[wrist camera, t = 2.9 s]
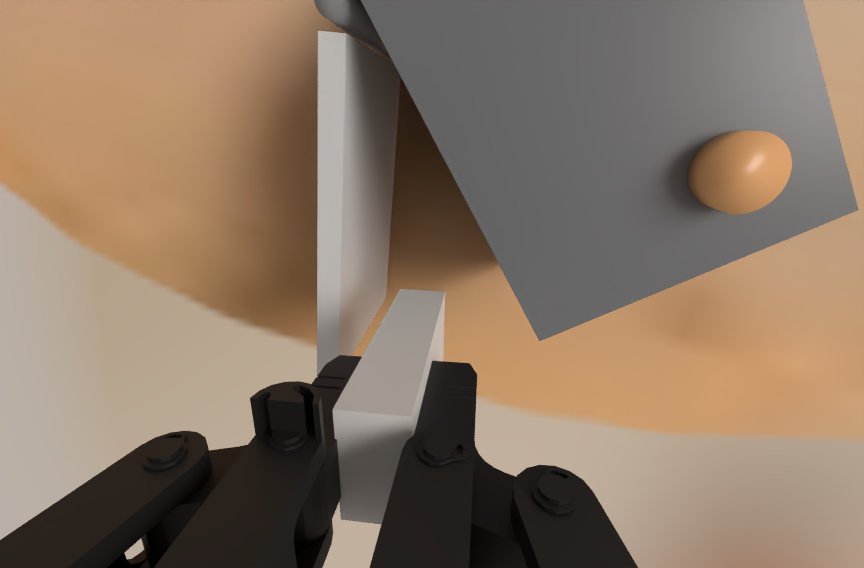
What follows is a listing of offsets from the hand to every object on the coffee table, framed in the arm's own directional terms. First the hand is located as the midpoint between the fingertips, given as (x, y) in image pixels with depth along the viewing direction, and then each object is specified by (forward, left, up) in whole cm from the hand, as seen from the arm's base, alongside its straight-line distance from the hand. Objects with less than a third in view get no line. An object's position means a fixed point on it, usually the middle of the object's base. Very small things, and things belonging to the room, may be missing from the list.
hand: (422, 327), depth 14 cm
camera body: (-5, +8, -9) cm, 13 cm away
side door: (-5, -1, -9) cm, 10 cm away
